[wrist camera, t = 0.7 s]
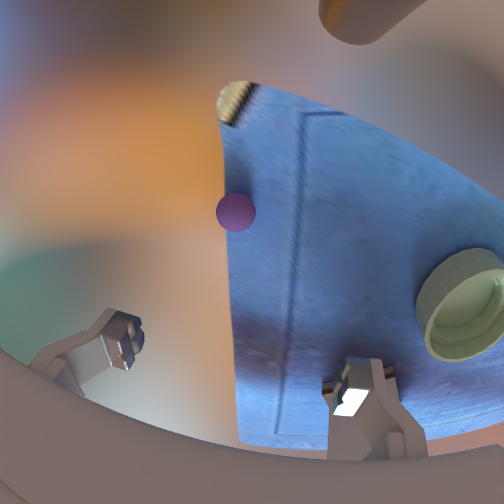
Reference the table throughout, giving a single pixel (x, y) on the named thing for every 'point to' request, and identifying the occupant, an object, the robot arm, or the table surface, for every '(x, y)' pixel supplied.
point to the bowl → (462, 305)
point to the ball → (235, 212)
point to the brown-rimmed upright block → (350, 426)
